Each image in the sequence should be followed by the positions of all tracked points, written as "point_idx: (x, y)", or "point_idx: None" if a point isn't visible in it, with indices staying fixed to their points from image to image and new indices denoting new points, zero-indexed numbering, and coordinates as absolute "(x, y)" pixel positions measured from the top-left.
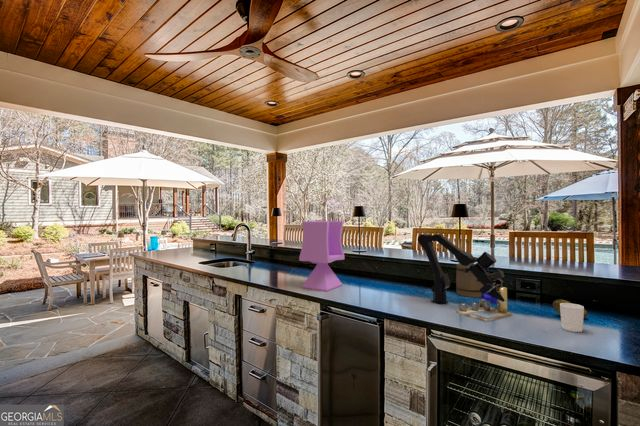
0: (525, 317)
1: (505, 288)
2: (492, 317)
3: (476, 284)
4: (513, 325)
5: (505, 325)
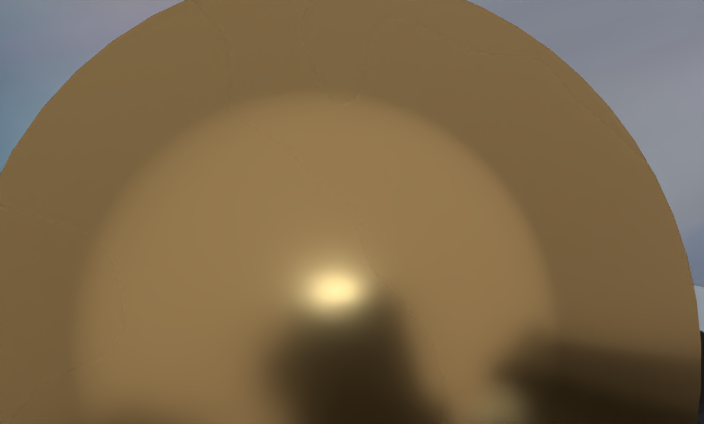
0: (109, 40)
1: (448, 16)
2: (701, 288)
3: None
4: (614, 40)
5: (694, 102)
